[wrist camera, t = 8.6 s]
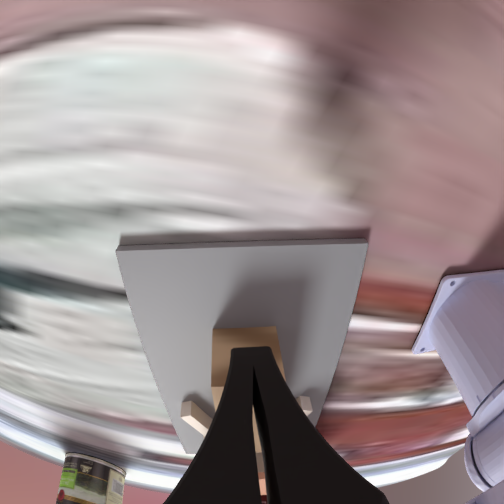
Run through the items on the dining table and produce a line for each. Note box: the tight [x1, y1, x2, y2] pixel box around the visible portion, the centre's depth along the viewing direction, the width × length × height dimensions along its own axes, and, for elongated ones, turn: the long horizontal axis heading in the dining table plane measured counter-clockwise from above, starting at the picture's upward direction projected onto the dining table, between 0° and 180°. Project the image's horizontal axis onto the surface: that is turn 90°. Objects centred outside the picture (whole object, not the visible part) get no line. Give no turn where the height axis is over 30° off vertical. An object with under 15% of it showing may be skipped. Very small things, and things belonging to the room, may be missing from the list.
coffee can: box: [56, 453, 126, 504], centre depth 30 cm, size 10×10×14 cm
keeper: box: [116, 238, 368, 495], centre depth 21 cm, size 14×27×7 cm, turn 0°
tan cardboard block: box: [211, 326, 286, 453], centre depth 20 cm, size 4×10×4 cm, turn 0°
